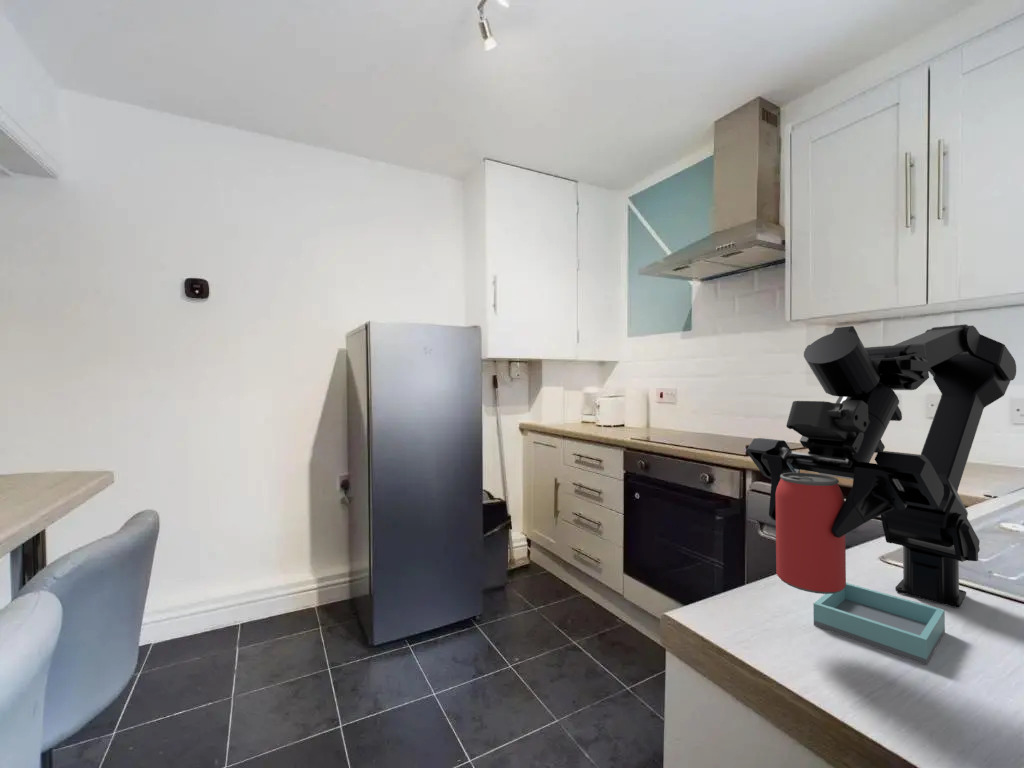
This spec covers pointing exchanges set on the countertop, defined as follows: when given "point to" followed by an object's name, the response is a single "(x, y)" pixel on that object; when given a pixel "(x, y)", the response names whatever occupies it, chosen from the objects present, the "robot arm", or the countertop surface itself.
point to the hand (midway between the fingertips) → (801, 525)
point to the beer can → (809, 533)
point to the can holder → (882, 621)
